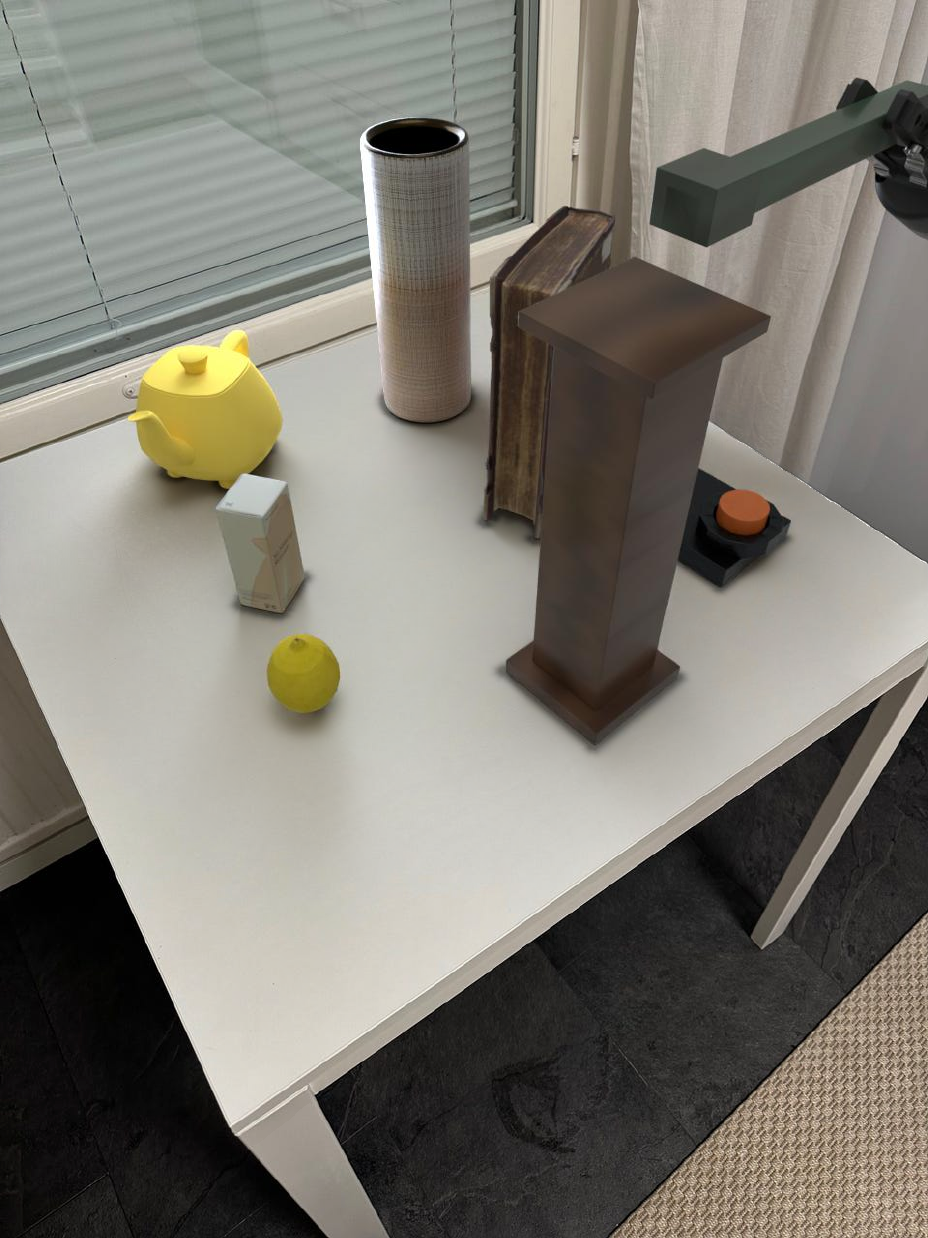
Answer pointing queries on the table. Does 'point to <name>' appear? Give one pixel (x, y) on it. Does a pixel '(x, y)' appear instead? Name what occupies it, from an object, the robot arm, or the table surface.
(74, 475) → the table surface
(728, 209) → the rod
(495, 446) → the book
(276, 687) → the fruit
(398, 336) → the vase
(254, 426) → the teapot
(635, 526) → the pedestal
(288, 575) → the box
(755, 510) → the button
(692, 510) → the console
